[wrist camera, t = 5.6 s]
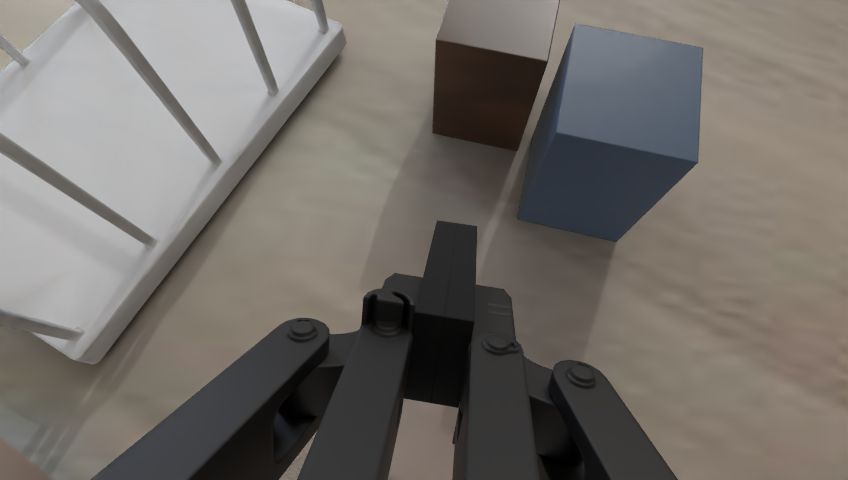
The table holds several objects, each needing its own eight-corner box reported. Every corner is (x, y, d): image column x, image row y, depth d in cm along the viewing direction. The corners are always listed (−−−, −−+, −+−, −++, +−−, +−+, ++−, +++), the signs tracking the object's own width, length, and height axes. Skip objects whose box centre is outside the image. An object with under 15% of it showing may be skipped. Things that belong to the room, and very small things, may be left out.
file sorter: (157, -39, 37) (-15, -345, 22) (350, 47, 34) (296, -243, 19) (-122, 224, 28) (-686, 9, 14) (100, 368, 25) (-325, 286, 11)
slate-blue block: (516, 219, 29) (555, 132, 20) (533, 132, 31) (575, 22, 23) (616, 242, 28) (698, 162, 20) (626, 151, 31) (703, 47, 22)
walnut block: (432, 133, 31) (435, 39, 24) (452, 62, 33) (461, -44, 26) (517, 151, 31) (548, 61, 23) (532, 78, 33) (565, -25, 25)
